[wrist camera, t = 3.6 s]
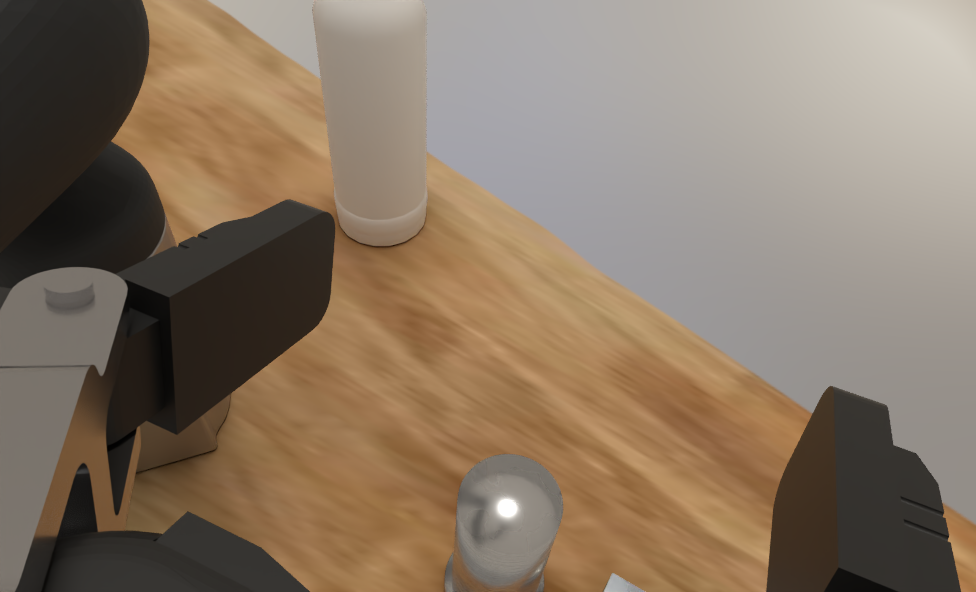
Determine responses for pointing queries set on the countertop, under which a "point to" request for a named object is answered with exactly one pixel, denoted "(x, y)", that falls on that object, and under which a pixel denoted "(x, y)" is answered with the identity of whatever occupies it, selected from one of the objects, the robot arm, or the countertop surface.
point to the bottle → (375, 114)
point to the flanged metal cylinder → (504, 526)
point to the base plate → (620, 585)
